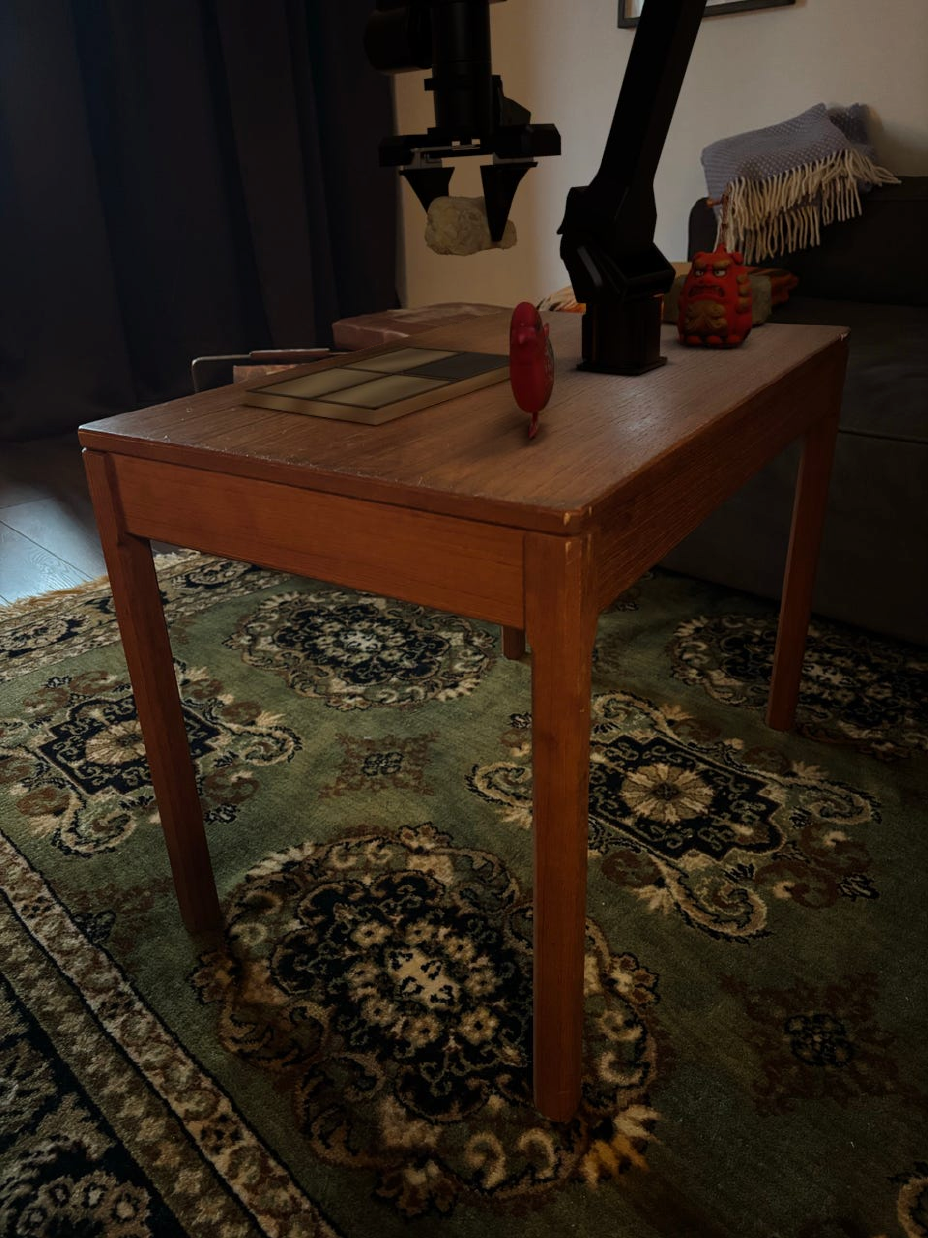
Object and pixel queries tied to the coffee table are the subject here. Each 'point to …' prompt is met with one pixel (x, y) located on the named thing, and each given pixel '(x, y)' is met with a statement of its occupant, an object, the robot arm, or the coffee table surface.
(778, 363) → the coffee table surface
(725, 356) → the coffee table surface
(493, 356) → the board
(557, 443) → the coffee table surface
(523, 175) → the robot arm
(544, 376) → the decorative bird figurine
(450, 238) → the stone tool
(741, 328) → the red clay folk toy
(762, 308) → the stone block
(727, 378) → the coffee table surface
